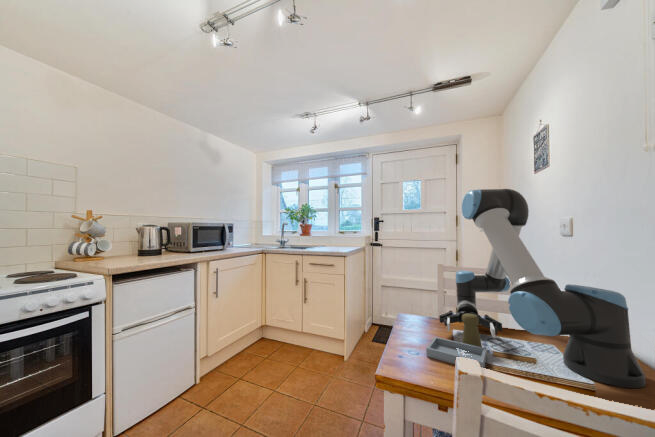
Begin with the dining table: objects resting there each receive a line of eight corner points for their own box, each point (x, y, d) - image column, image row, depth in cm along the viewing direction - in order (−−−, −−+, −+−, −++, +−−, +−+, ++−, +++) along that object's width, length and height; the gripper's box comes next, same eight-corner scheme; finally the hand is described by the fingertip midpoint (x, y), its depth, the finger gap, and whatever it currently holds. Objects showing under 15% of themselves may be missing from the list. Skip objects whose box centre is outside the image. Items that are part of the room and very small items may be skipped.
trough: (487, 356, 77) (486, 348, 77) (483, 372, 69) (483, 362, 69) (435, 344, 87) (434, 336, 87) (426, 356, 78) (426, 348, 78)
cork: (486, 348, 82) (484, 315, 83) (473, 352, 80) (471, 318, 81) (470, 341, 88) (468, 310, 89) (458, 344, 86) (456, 313, 87)
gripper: (504, 325, 96) (515, 348, 78) (435, 317, 108) (431, 335, 89) (502, 306, 97) (514, 324, 78) (435, 300, 108) (430, 314, 90)
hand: (470, 330), depth 84 cm, fingers open, 13 cm apart
